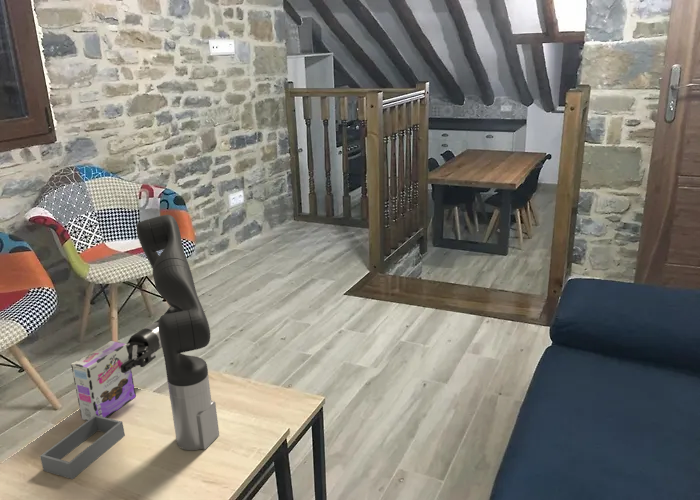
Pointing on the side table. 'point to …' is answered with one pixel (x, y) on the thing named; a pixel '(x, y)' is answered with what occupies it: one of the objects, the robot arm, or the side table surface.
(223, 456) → the side table surface
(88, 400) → the candy box
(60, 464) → the bin
